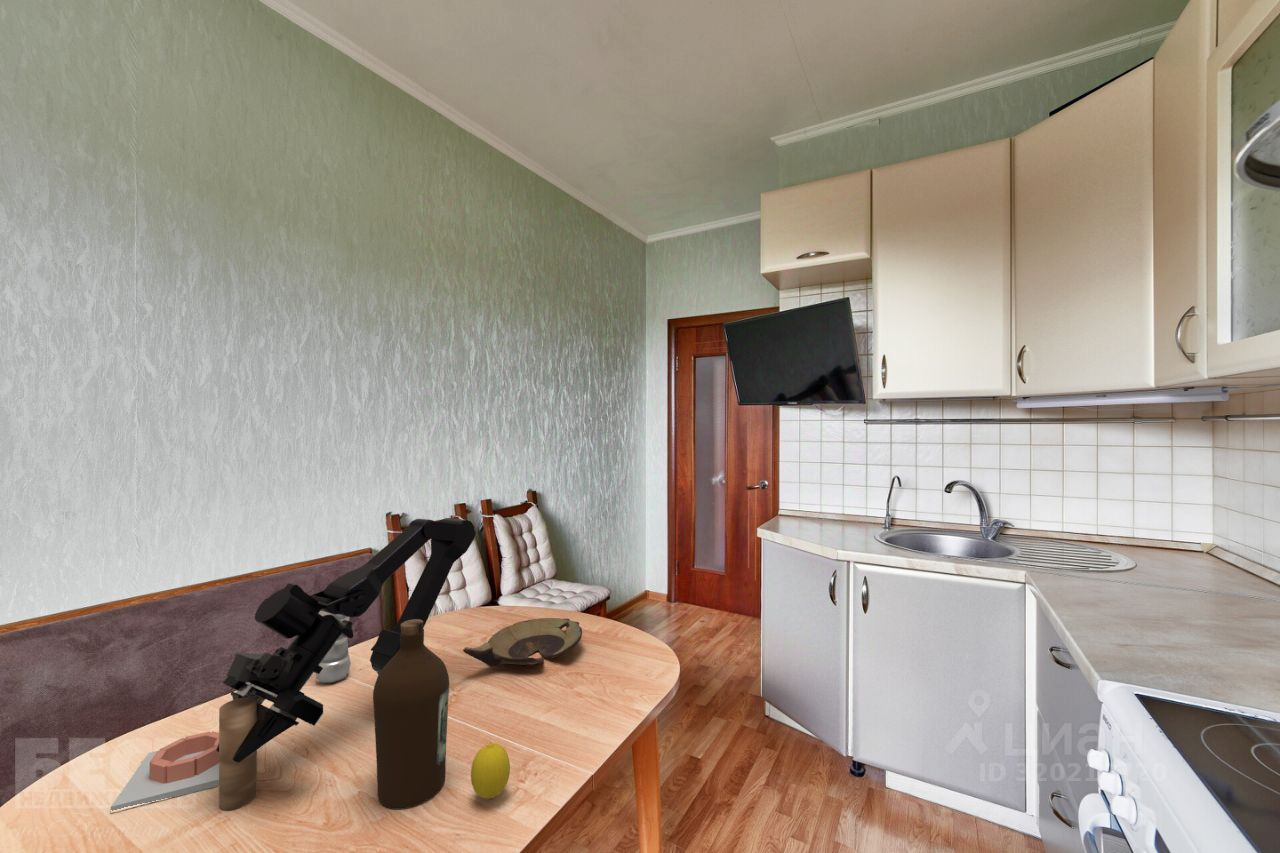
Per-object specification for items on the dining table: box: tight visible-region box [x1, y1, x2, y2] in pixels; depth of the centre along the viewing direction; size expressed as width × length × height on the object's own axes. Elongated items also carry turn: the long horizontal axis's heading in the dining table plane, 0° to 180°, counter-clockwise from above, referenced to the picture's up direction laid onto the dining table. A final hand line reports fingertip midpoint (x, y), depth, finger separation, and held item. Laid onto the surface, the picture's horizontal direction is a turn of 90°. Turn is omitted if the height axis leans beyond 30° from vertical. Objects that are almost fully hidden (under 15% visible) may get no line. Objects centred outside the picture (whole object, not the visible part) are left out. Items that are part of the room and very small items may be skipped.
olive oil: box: [372, 619, 450, 810], centre depth 78 cm, size 11×11×25 cm
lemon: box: [470, 742, 511, 800], centre depth 75 cm, size 6×6×8 cm
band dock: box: [110, 730, 219, 811], centre depth 82 cm, size 14×14×4 cm
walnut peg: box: [218, 697, 258, 812], centre depth 75 cm, size 4×4×14 cm
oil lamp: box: [462, 617, 583, 668], centre depth 123 cm, size 22×30×8 cm
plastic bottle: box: [315, 611, 352, 684], centre depth 112 cm, size 6×7×20 cm
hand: (227, 756), depth 74 cm, fingers closed on walnut peg, 4 cm apart
